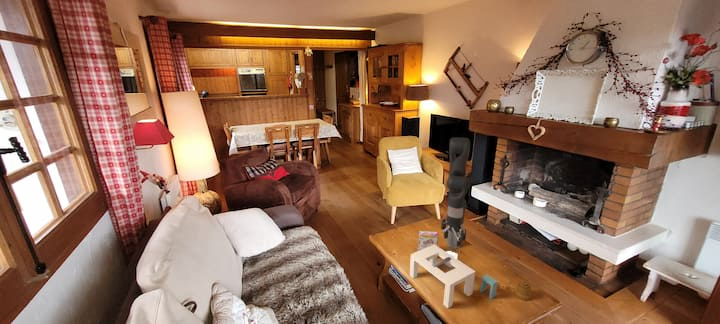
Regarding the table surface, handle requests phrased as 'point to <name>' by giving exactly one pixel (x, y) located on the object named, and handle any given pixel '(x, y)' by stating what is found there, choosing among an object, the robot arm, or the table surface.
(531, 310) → the table surface
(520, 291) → the ornamental finial
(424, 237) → the candy bar box
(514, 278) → the table surface
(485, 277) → the teal u-channel bracket
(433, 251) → the cutout shelf
